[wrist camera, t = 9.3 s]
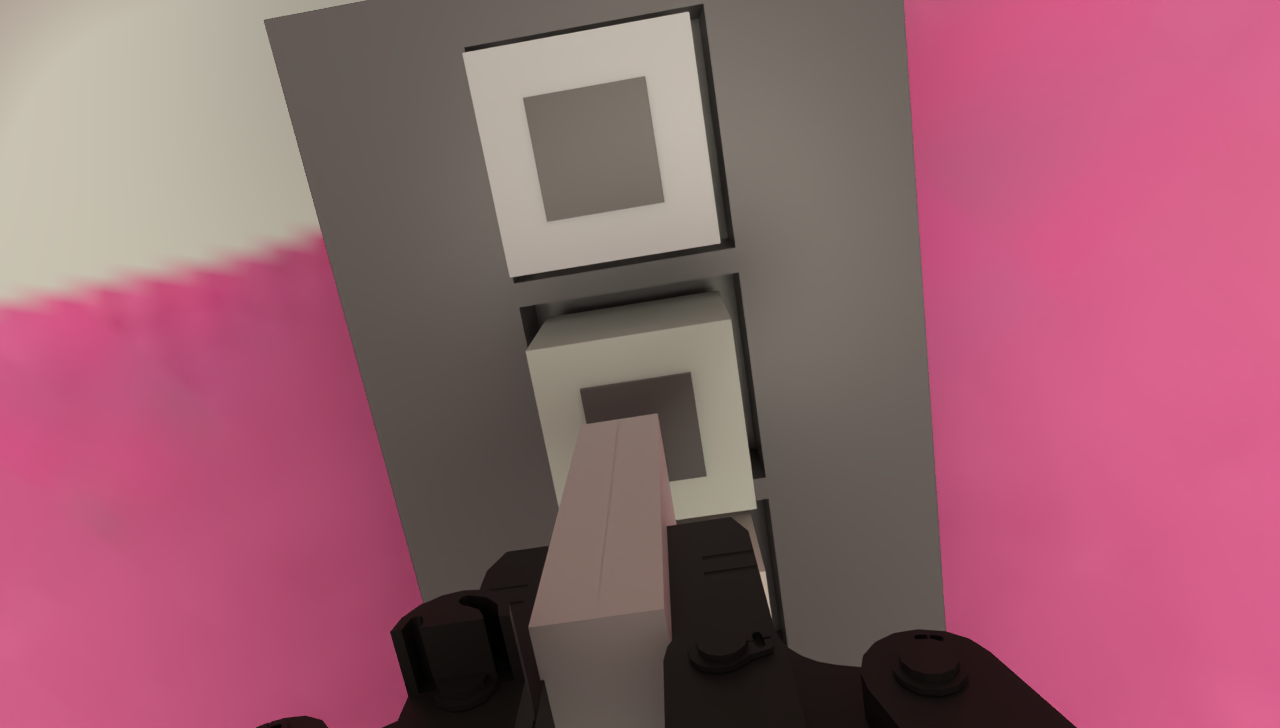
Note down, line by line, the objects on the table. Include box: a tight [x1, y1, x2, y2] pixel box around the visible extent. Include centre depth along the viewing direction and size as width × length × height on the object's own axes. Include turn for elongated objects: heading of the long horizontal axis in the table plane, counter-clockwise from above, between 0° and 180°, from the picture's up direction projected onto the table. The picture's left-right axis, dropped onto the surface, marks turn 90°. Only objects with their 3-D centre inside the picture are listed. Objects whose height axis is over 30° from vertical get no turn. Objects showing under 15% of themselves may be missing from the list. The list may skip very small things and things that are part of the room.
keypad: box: [264, 0, 946, 667], centre depth 21 cm, size 14×26×2 cm, turn 9°
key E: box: [462, 12, 721, 278], centre depth 17 cm, size 4×4×4 cm
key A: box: [526, 290, 757, 520], centre depth 18 cm, size 4×4×4 cm
